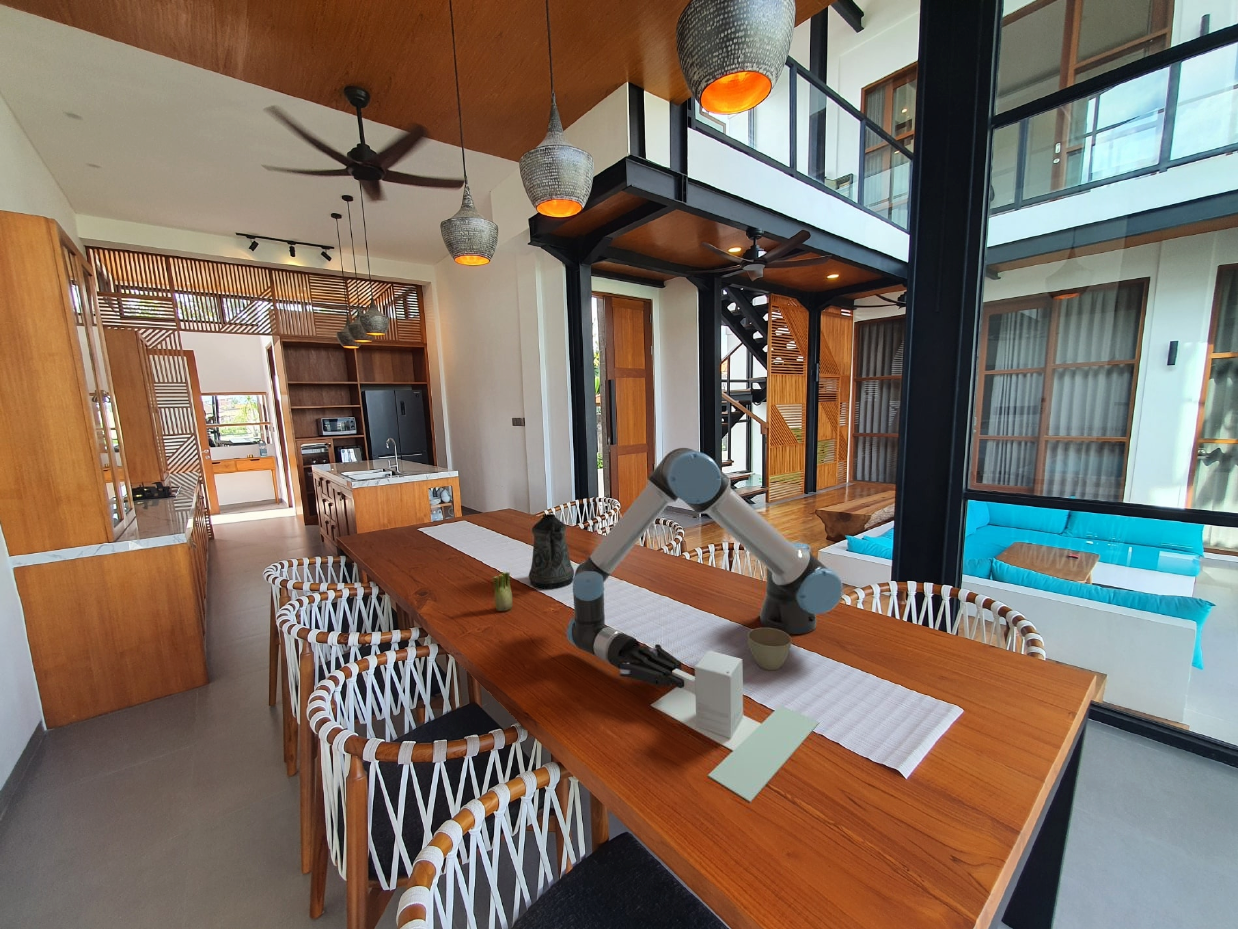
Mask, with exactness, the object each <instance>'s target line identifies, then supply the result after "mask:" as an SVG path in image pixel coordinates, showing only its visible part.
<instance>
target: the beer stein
mask: <svg viewBox="0 0 1238 929" xmlns="http://www.w3.org/2000/svg"><path fill="white" fill-rule="evenodd" d="M531 532H532V534H533V545H532V546H533V549H532V560H531V566H530V570H529V572H528V578H529V581H530V586H532V587H533V588H536V589H538V590H547V591H548V590H557V589H562V588H565V587H568V586H569V585H571V584H572V583H573V578H574V575H575V569H574V567H573V566H572V561H571V560H570V555H569V554H570V553H569V548H568V544H567V540H566V532H567V526H566V524H565V523H564V522H562V521H561V520H560V519H559V518H557V517H556V515H555V514H554V513H547V514H543V515H542V518H541V519H540V520H539V521H538V522H536V523H535V524H534V525H533V526H532V527H531Z"/></svg>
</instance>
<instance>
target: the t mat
mask: <svg viewBox="0 0 1238 929" xmlns="http://www.w3.org/2000/svg"><path fill="white" fill-rule="evenodd" d="M650 706H651V707H653V708H655V710H658V711H660V712H661V713H663V714H665V715H667V716H669V717H671V718H673V719H675V720H676V721H678V722H680V723H682V724H683V725H685V726H687V727H689V728H690V729H693V730H694V731H696V732H698V733H699V734H702V735H703V736H705V737H707V738H709V739H711V740H712V741H714V742H716V743H718V744H719V745H721V746H724V747H725V748H727V749H728V750H730V751H732V752H730V753H729V754H728V755H727V756H726V757H725V758H724V759H723V760H722V761H721V762H720V763H719V764H718V765H717V766H716V767H715V768H713V770H712V771H710V773H708V775H707V776H708V777H709V778H711V779H712V780H714V781H715V782H717V783H718V784H720V785H722V786H723V787H725V788H727V789H729V790H730V791H732V792H733V793H735V794H736V795H737V796H740V797H741V798H743V799H745V800H746V801H747V802H749V803H752V801H753V800H754V799H755V798H756V796H758V794H759V793H760V792H761V790H763V788H764V787H765V786H767V784H768V783H769V782H770V780H772V778H773V777H774V776H775V775H776V774H777V772H779V770H780V769H781V767H782V766H783V765H784V764H785V763H786V762H787V761H788V760H789V758H790V757H791V756H792V755H793V754H794V753H795V751H796V750H797V749H799V747H800V746H801V745H802V744H803V742H804V741H805V740H806V739H807V738H808V736H810V734H811V733H812V732H813V731H814V730H815V728H816V727H817V726H818V725H819V724H820V722H819V721H817V720H815V719H813V718H810V717H808V716H806V715H804V714H801V713H799V712H797V711H795V710H793V709H791V708H788V707H786V706H783V705H782V704H780V705H779V706H778V707H777V708H776V709H775V710H774V711H772V713H771V714H770V715H768V717H767V718H766V719H765V720H764V721H763V722H759V721H756V720H755V719H752V718H750V717H748V716H746V715H744V714H743V719H742V721H741V722H740V724H739V726H738V727H737V729H736V731H735V732H734V734H733V736H732V737H731V738H728V737H725V736H722V735H720V734H717V733H714V732H711V731H708V730H706V729H703V728H700V727H697V726H696V696H695V694H693V693H691V692H689V691H686V690H684V689H682V688H678V687H677V686H675V688H673V689H672V690H671V691H669V692H668V693H666V694H665V695H663V696H661V697H659V699H657V700H656V701H655V702H653V703H651V704H650Z"/></svg>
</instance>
